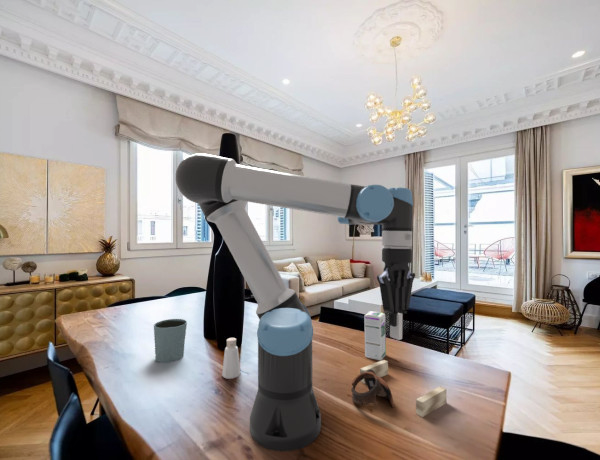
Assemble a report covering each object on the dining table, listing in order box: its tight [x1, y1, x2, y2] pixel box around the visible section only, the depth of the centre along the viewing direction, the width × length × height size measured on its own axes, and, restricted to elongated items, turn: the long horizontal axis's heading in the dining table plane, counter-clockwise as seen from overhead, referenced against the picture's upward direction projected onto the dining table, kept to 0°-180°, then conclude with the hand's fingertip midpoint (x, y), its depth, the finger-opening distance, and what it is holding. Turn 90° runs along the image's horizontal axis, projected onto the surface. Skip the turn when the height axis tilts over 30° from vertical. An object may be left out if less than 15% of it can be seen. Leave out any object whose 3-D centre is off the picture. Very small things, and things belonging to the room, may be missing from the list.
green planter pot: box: [153, 318, 188, 364], centre depth 94 cm, size 10×10×12 cm
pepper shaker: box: [221, 337, 241, 379], centre depth 82 cm, size 5×5×11 cm
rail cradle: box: [359, 359, 447, 418], centre depth 73 cm, size 10×19×4 cm, turn 33°
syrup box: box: [363, 310, 387, 361], centre depth 95 cm, size 6×6×14 cm
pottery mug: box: [351, 369, 395, 408], centre depth 69 cm, size 12×9×8 cm
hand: (395, 337), depth 73 cm, fingers closed
